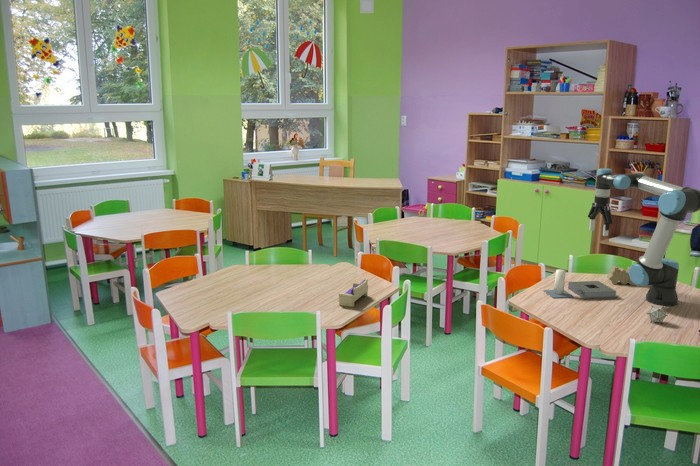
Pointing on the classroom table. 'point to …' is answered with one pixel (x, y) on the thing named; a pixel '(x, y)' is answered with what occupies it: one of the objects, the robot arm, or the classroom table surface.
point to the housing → (591, 290)
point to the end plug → (559, 282)
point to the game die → (657, 314)
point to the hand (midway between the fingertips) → (598, 233)
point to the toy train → (619, 275)
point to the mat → (565, 295)
